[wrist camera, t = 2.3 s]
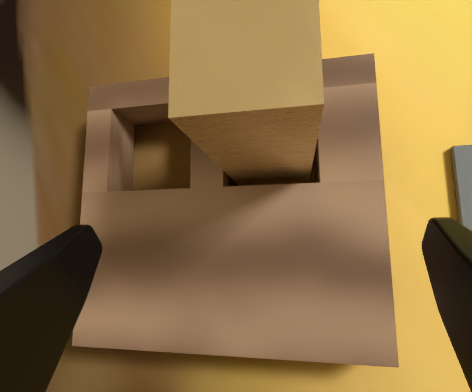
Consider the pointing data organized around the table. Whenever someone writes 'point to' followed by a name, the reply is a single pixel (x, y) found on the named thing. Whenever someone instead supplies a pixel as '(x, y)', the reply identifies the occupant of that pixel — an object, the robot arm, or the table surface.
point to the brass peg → (249, 85)
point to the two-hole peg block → (242, 240)
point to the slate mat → (463, 182)
